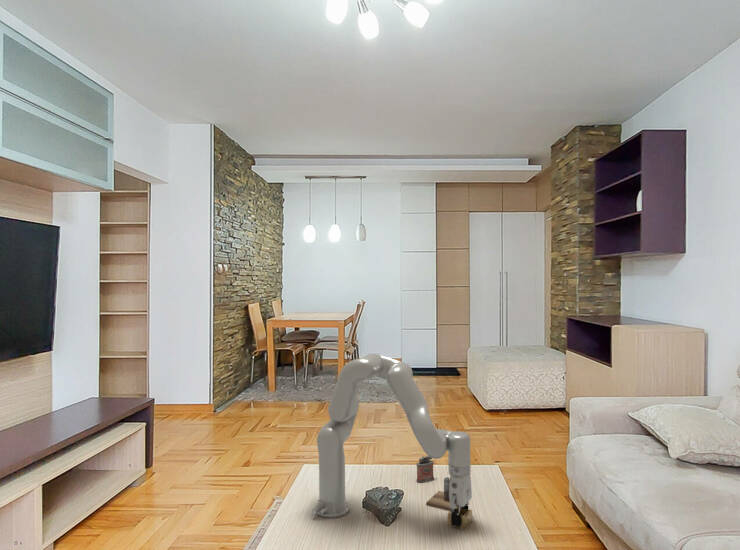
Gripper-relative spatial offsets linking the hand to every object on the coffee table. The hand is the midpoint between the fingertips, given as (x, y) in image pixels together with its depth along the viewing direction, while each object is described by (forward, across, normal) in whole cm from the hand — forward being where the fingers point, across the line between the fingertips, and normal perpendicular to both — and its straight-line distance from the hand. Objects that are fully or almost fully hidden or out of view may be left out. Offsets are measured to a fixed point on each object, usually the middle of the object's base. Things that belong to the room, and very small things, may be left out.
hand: (460, 520), depth 171 cm
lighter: (+1, +28, +26) cm, 38 cm away
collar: (+1, 0, 0) cm, 1 cm away
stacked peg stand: (+1, +13, +10) cm, 16 cm away
